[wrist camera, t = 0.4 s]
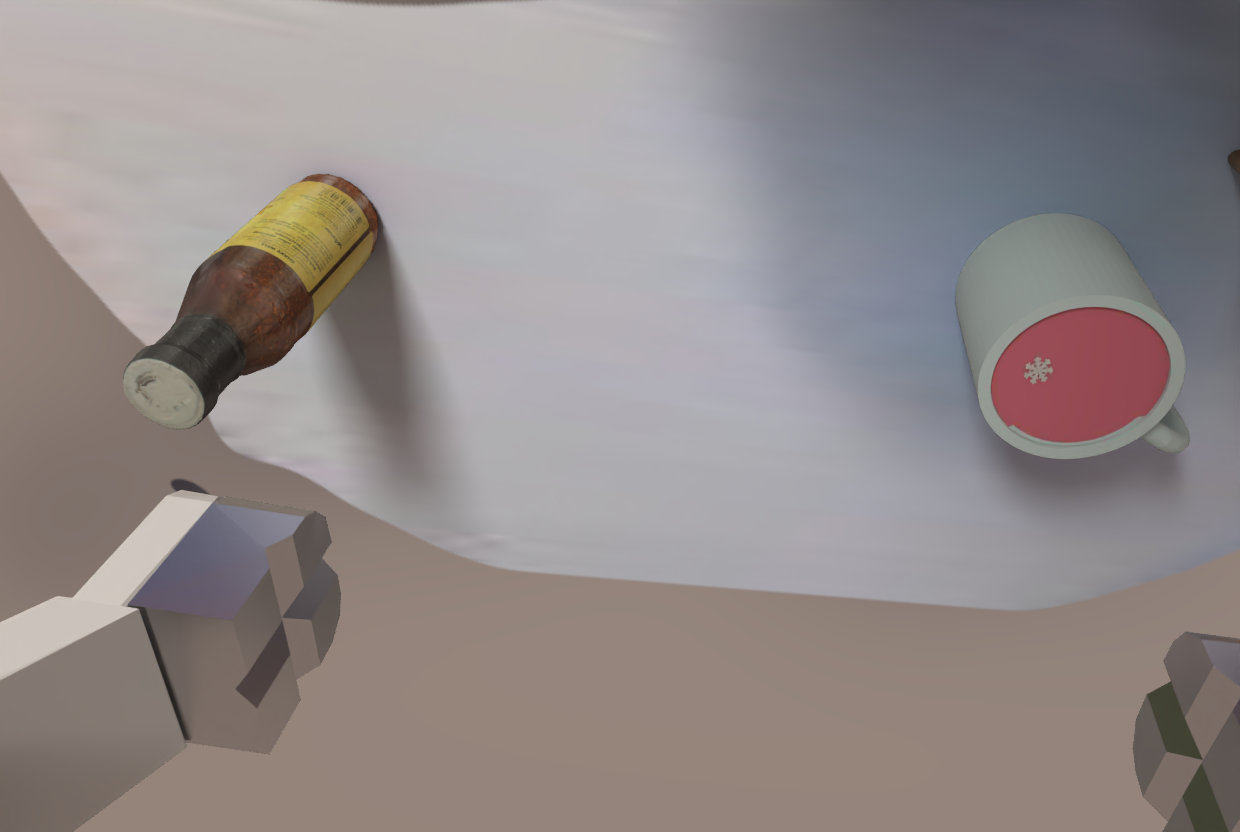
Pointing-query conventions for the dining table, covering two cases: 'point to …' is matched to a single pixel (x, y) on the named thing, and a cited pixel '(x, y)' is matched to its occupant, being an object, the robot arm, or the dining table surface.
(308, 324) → the sauce bottle
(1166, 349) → the mug
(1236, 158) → the cold frame
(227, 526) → the robot arm
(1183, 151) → the dining table surface
